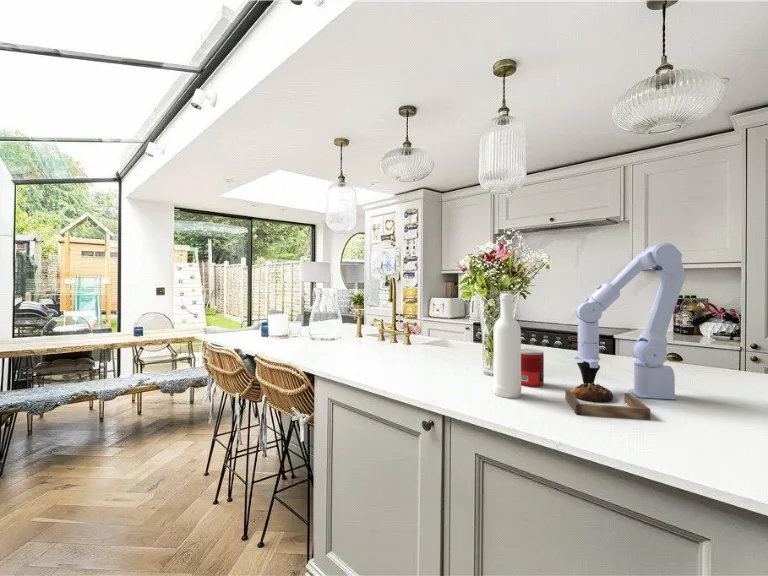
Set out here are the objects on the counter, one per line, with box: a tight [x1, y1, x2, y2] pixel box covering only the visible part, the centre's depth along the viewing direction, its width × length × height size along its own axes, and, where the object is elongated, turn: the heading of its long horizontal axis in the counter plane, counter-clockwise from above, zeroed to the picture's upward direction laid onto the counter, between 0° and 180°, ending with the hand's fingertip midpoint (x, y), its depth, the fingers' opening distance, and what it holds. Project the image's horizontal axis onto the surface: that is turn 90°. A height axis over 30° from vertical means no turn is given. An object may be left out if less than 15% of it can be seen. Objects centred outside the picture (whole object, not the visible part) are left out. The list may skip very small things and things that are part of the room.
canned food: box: [521, 348, 545, 388], centre depth 130 cm, size 8×8×11 cm
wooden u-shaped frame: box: [564, 389, 651, 421], centre depth 105 cm, size 16×14×2 cm
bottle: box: [493, 293, 522, 399], centre depth 118 cm, size 8×8×30 cm
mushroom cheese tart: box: [571, 382, 614, 403], centre depth 115 cm, size 11×11×5 cm
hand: (588, 386), depth 121 cm, fingers closed
